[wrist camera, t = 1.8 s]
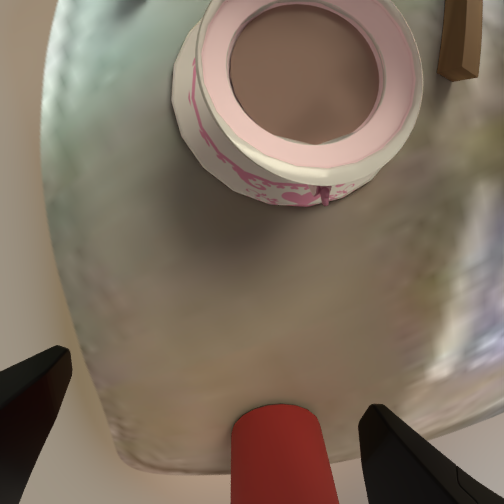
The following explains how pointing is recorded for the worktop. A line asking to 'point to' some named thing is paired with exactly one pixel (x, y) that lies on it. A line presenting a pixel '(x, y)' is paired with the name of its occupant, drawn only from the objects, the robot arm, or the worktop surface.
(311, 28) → the teacup
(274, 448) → the beer can
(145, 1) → the worktop surface
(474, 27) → the open wooden frame
